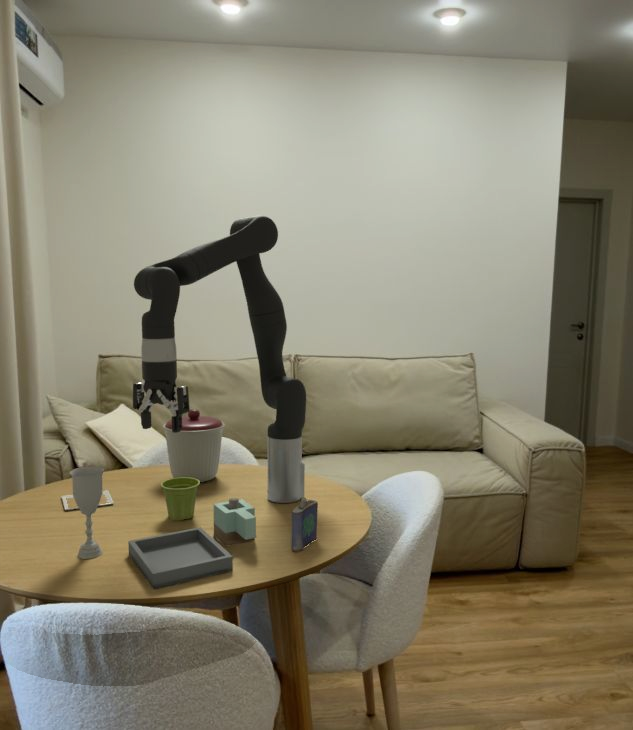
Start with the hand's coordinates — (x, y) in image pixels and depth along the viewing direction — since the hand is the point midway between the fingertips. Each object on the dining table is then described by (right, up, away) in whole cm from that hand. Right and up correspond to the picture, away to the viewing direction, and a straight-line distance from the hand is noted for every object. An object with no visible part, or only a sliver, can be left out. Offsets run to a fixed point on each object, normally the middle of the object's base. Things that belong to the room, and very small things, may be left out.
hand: (161, 430), depth 140 cm
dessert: (-26, -22, +25) cm, 43 cm away
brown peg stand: (+16, -25, +2) cm, 29 cm away
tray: (+6, -26, -12) cm, 29 cm away
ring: (+18, -22, -1) cm, 28 cm away
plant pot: (+1, -23, +15) cm, 27 cm away
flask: (+32, -25, -2) cm, 41 cm away
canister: (-2, -20, +47) cm, 51 cm away
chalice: (-13, -26, -8) cm, 30 cm away
